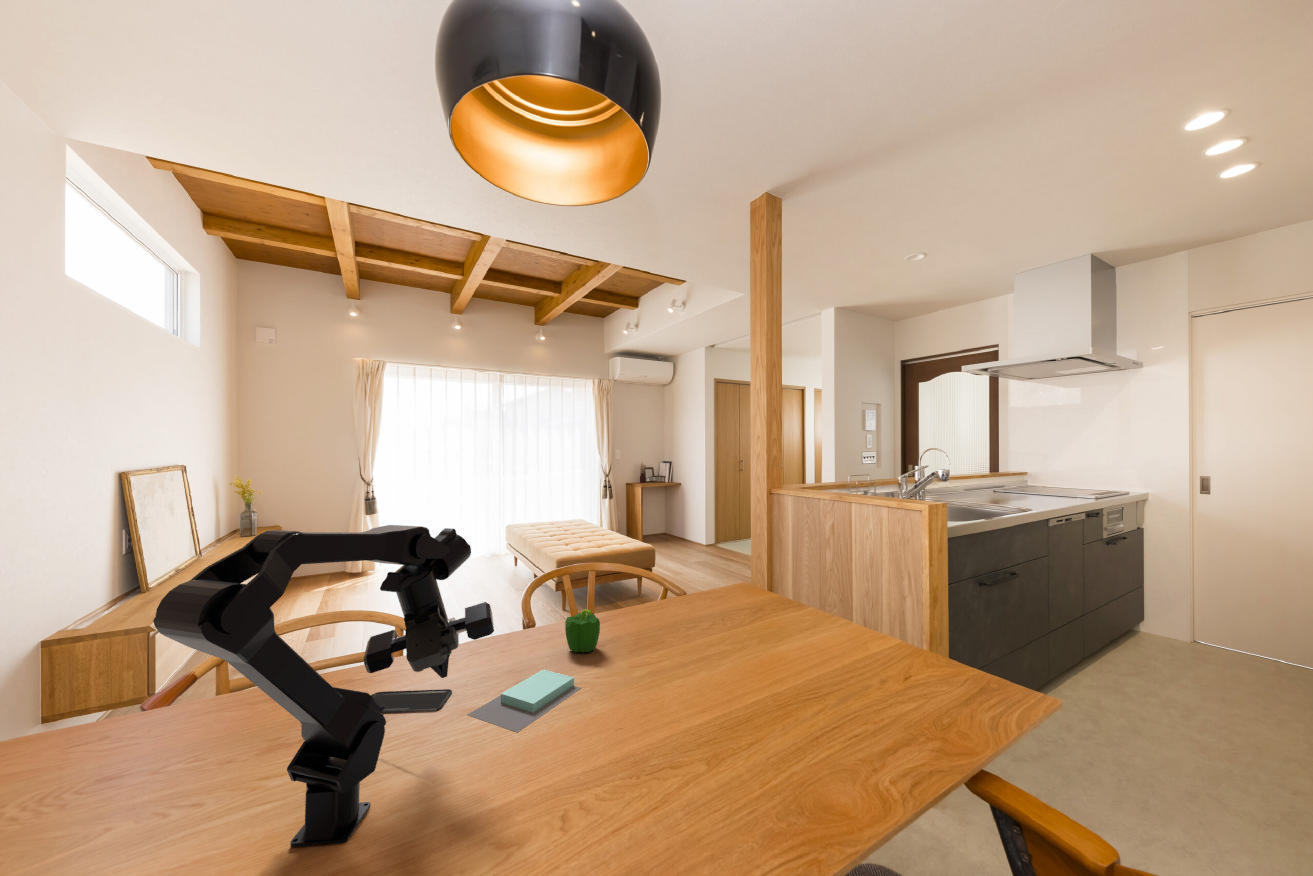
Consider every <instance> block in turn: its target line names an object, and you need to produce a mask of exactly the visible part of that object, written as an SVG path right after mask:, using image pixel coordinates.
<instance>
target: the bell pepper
mask: <svg viewBox="0 0 1313 876" xmlns="http://www.w3.org/2000/svg"><path fill="white" fill-rule="evenodd" d="M564 627H565V629H564V630H565V638H566V642H567V646H568V648H569V650H570V651H571V650H572V651H573V652H572V651H571V652H572V653H584V652H588V653H590V652H589V651H592V650H593V651H595V649H596V648H597V645H598V641H599V636H600V632H601V631H600V630H601V622H600V619H599V618H598V617H597V616H596V614H595V613H592V611H591V610H590V609H587V608H585V609H584V610H582V612H578V613H577V614H574V615H571V616H567V618H566V619H565V625H564ZM593 651H592V652H593Z"/></svg>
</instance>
